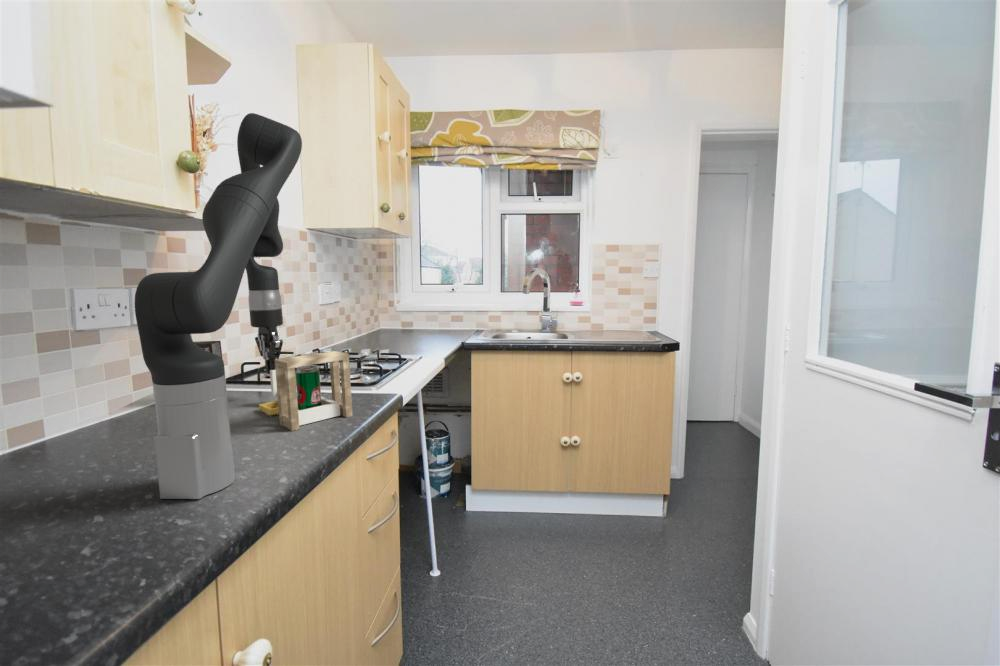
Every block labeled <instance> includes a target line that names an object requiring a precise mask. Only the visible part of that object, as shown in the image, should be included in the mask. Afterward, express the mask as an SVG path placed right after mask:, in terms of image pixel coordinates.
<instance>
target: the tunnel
mask: <svg viewBox="0 0 1000 666" xmlns="http://www.w3.org/2000/svg"><path fill="white" fill-rule="evenodd" d="M326 363H329V369H330V370H329V371H330V383H331V400H333V401H335V402H338V403H340V416H342V417H344V418H350V417H353V416H354V415H353V414H354V413H353V401H352V387H351V386H352V384H351V370H350V369H351V368H350V353H349V352H348V353H347V352H342V351H336V350H331V351H325V352H319V353H310V354H304V355H298V356H297V355H296V356H289V357H282V358H277V359H275V370H276V382H277V394H278V396H277V401H278V407H279V415H278V418H279V419H278V420H279V426H281V425H282V426H281V427H284V426H285V427H284V428H286V427H287V429H288V430H289V431H291V432H295V431H294V430H296V431H299V430H300V426H299V417H298V404H297V387H296V374H295V372H296V368H297V367H301V366H307V365H318V364H326ZM298 429H299V430H298Z"/></svg>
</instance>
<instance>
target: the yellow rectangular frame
mask: <svg viewBox="0 0 1000 666" xmlns="http://www.w3.org/2000/svg"><path fill="white" fill-rule="evenodd" d="M260 411H261V412H260ZM258 412H260V413H262V412H263V413H262V414H264V413H265V414H264V415H266V414H267V415H266V416H268V415H269V416H268V417H270V416H272V417H274V416H273V415H276V416H278V415H277V414H279V407H278V400H274V401H270V402H264V403H259V404H258Z"/></svg>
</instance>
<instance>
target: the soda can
mask: <svg viewBox="0 0 1000 666" xmlns="http://www.w3.org/2000/svg"><path fill="white" fill-rule="evenodd" d="M320 375H321V374H320V369H319V367H318V365H317V364H313V365H307V366H301V367H296V370H295V377H296V391H297V400H298V410H304V409H308V408H313V407H317V406H322V402H321V397H322V393H321V391H322V390H321V377H320Z"/></svg>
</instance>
